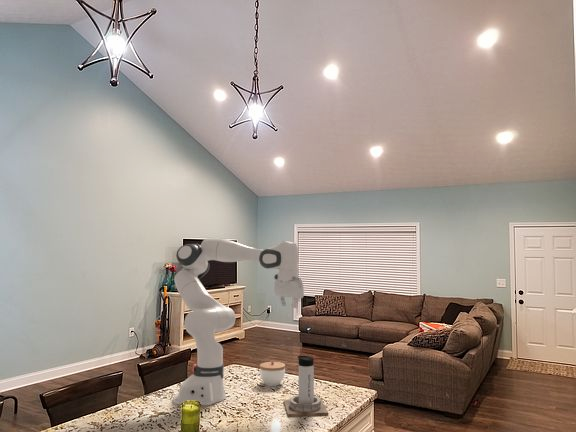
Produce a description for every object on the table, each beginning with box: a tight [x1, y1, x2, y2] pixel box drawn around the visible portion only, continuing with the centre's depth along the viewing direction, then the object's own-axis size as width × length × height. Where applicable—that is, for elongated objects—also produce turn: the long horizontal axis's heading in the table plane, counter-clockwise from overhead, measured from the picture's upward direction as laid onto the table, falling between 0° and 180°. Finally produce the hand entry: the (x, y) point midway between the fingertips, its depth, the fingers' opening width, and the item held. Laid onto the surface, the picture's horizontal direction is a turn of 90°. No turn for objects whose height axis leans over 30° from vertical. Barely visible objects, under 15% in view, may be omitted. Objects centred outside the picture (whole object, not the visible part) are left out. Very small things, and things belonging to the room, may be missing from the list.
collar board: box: [283, 394, 329, 418], centre depth 175 cm, size 16×16×4 cm
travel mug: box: [297, 355, 315, 404], centre depth 175 cm, size 6×7×20 cm
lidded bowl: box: [259, 360, 286, 387], centre depth 209 cm, size 13×13×11 cm
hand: (288, 306), depth 194 cm, fingers open, 8 cm apart
